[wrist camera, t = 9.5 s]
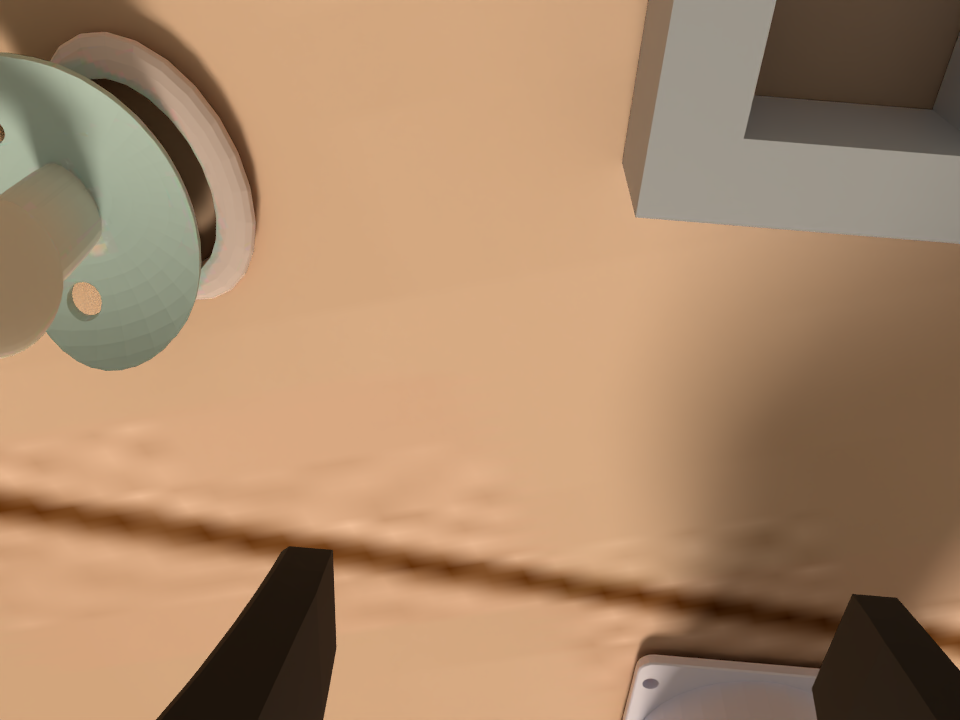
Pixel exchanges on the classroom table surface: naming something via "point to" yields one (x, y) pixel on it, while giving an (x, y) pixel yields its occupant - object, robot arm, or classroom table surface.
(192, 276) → the pacifier
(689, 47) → the hole block
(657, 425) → the classroom table surface
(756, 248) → the classroom table surface
